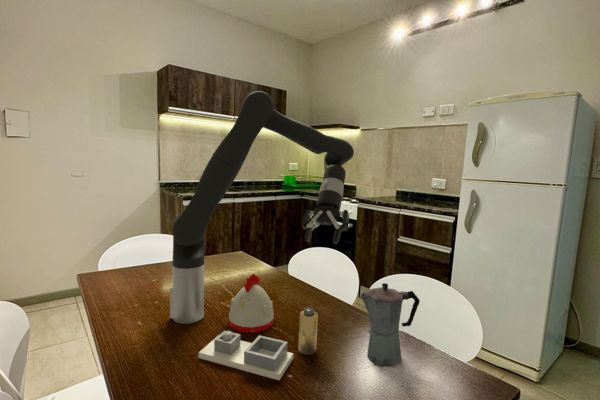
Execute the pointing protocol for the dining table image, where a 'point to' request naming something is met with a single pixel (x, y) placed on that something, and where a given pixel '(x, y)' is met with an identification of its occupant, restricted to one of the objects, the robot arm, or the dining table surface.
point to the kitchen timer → (251, 308)
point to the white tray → (249, 354)
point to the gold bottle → (308, 331)
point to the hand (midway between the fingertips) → (320, 241)
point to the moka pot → (386, 323)
